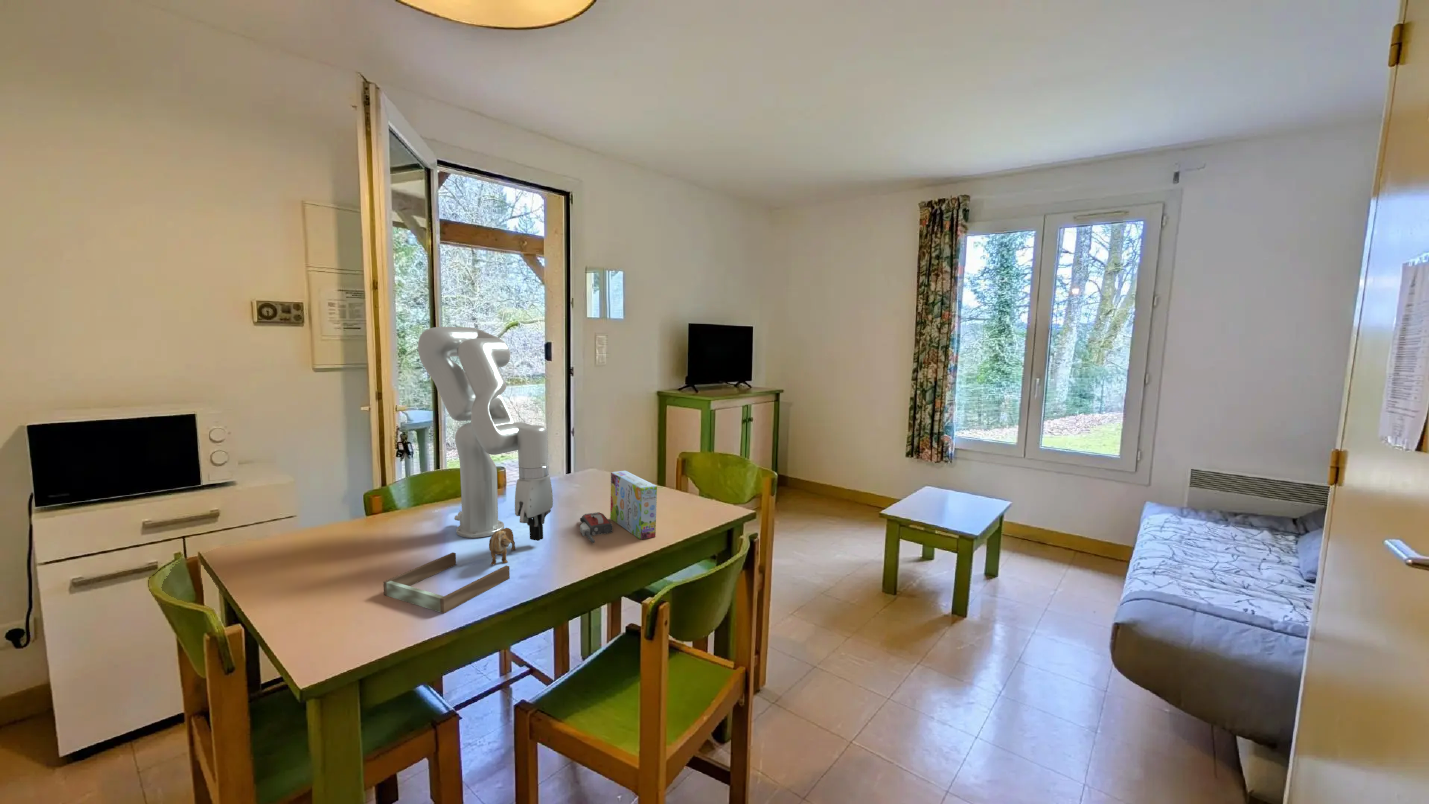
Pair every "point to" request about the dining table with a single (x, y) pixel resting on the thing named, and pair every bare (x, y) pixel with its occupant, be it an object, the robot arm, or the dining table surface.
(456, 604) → the u-shaped wooden rail
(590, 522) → the walkie-talkie
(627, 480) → the snack box
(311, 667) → the dining table surface
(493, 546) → the lion figurine
